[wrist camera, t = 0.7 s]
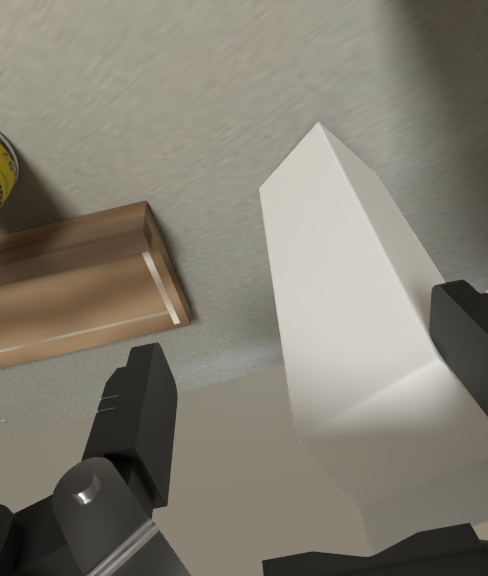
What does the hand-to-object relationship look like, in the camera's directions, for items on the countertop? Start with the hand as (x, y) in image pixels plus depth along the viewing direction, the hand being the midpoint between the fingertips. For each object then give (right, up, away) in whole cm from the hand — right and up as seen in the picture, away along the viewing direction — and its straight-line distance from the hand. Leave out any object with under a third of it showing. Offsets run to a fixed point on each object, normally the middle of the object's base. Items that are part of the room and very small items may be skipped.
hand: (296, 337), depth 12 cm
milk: (+4, +9, +16) cm, 19 cm away
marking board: (-20, +1, +20) cm, 28 cm away
